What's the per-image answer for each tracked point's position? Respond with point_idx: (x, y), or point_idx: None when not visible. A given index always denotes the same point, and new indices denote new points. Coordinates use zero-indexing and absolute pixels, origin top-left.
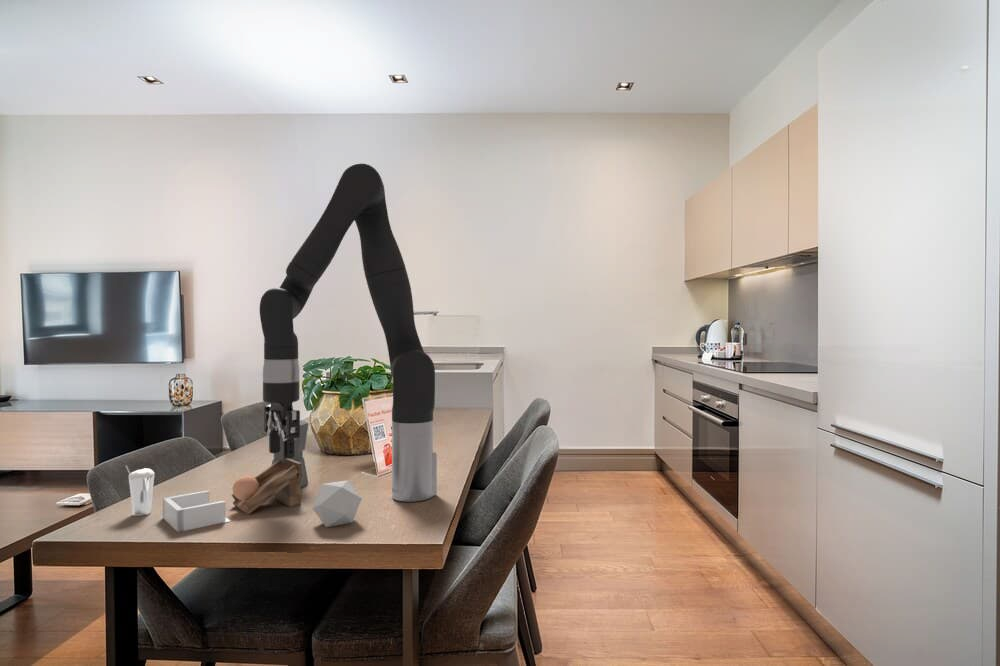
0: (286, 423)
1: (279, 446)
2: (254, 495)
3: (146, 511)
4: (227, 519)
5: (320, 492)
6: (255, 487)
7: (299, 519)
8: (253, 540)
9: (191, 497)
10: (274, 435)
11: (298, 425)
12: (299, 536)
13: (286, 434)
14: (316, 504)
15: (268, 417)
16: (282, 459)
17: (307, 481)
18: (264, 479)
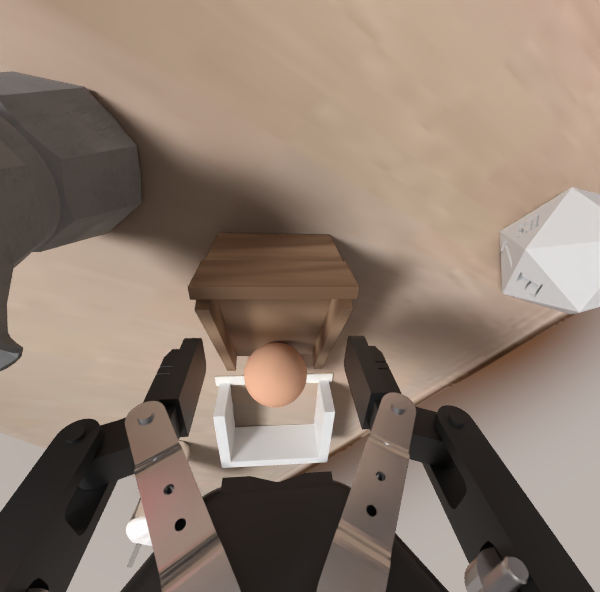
0: (466, 548)
1: (195, 355)
2: (321, 361)
3: (187, 450)
4: (318, 375)
5: (570, 311)
6: (303, 364)
7: (432, 285)
8: (453, 372)
9: (228, 433)
10: (178, 425)
11: (515, 490)
12: (511, 321)
13: (430, 470)
14: (539, 304)
15: (59, 577)
16: (50, 235)
17: (85, 92)
18: (225, 323)
